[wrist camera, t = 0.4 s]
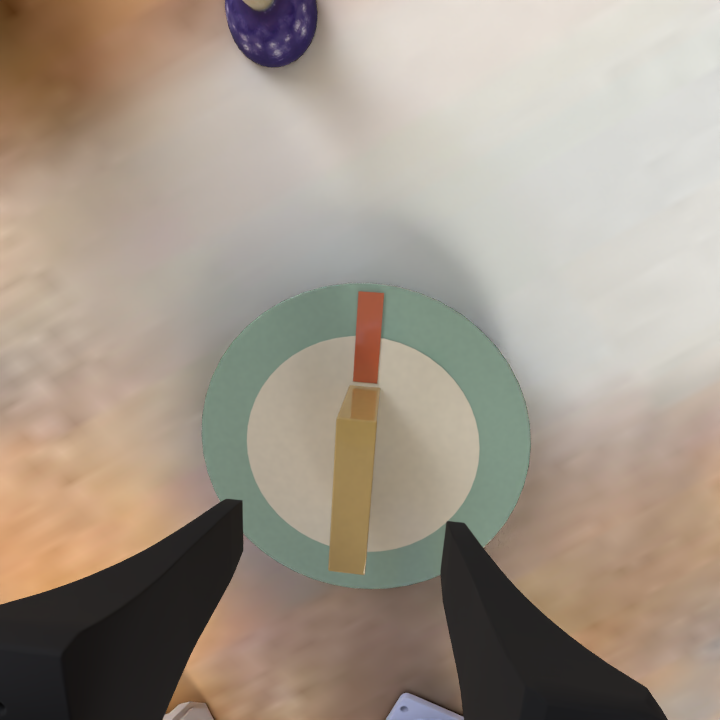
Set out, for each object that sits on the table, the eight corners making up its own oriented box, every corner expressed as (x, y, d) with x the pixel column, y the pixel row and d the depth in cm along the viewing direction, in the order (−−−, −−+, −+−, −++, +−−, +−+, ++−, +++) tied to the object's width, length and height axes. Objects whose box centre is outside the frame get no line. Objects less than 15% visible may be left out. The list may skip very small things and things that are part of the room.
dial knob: (500, 595, 22) (532, 692, 17) (211, 560, 23) (160, 642, 18) (552, 294, 18) (614, 304, 13) (203, 271, 19) (135, 271, 14)
